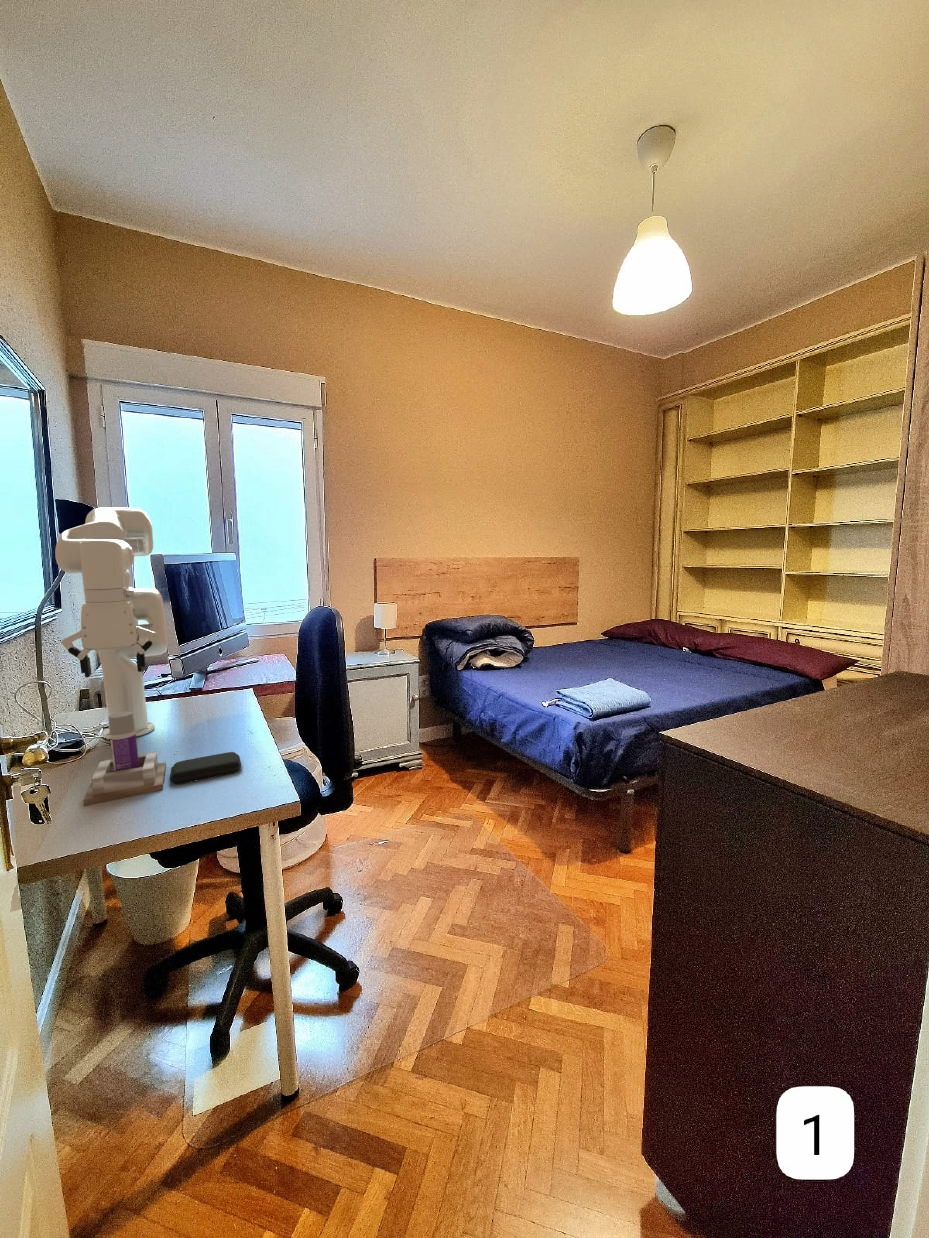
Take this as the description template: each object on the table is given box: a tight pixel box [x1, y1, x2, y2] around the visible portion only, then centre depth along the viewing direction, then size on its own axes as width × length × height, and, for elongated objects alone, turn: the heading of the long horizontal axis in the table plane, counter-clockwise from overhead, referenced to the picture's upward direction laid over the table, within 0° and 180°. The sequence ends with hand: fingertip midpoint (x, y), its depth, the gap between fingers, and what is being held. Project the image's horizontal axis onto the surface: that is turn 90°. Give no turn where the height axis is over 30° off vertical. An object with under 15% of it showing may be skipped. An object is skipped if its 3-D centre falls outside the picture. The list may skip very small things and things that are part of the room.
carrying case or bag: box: [169, 751, 242, 785], centre depth 119 cm, size 11×3×15 cm
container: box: [108, 711, 139, 772], centre depth 112 cm, size 5×5×15 cm
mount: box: [82, 751, 167, 806], centre depth 112 cm, size 14×14×5 cm
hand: (114, 673), depth 112 cm, fingers open, 9 cm apart
